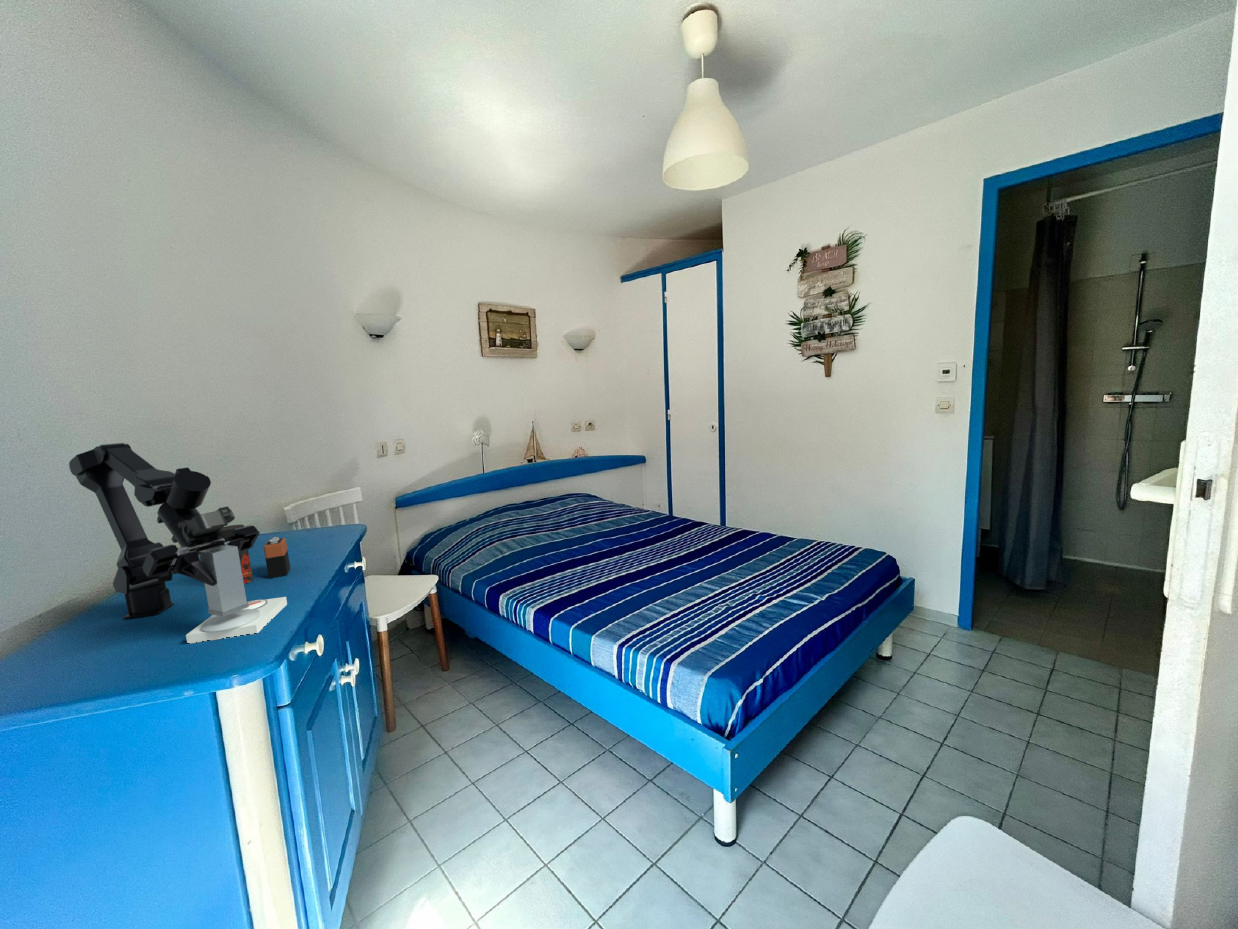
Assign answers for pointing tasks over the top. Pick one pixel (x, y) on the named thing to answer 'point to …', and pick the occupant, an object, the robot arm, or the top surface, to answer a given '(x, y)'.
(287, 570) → the battery
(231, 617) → the scale
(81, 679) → the top surface
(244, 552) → the deodorant
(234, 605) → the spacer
